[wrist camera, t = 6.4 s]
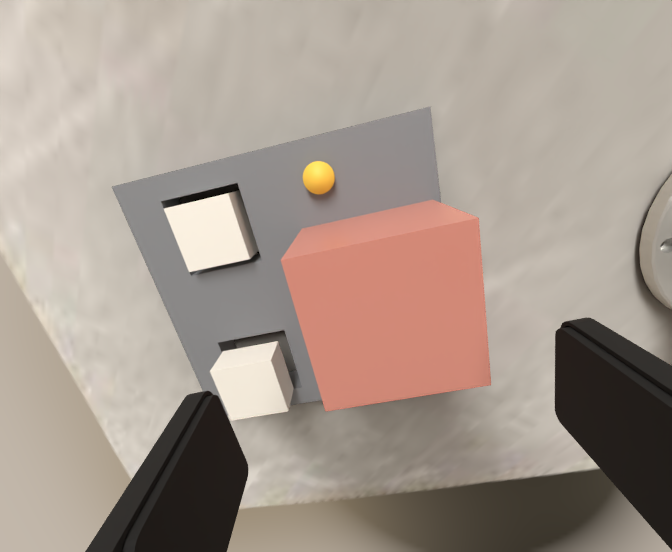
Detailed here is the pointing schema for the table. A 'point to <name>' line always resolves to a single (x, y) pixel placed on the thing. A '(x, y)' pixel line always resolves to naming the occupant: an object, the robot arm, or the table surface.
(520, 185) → the table surface
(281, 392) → the block
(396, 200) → the board
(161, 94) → the table surface
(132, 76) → the table surface
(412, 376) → the cap
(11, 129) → the table surface
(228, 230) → the block
